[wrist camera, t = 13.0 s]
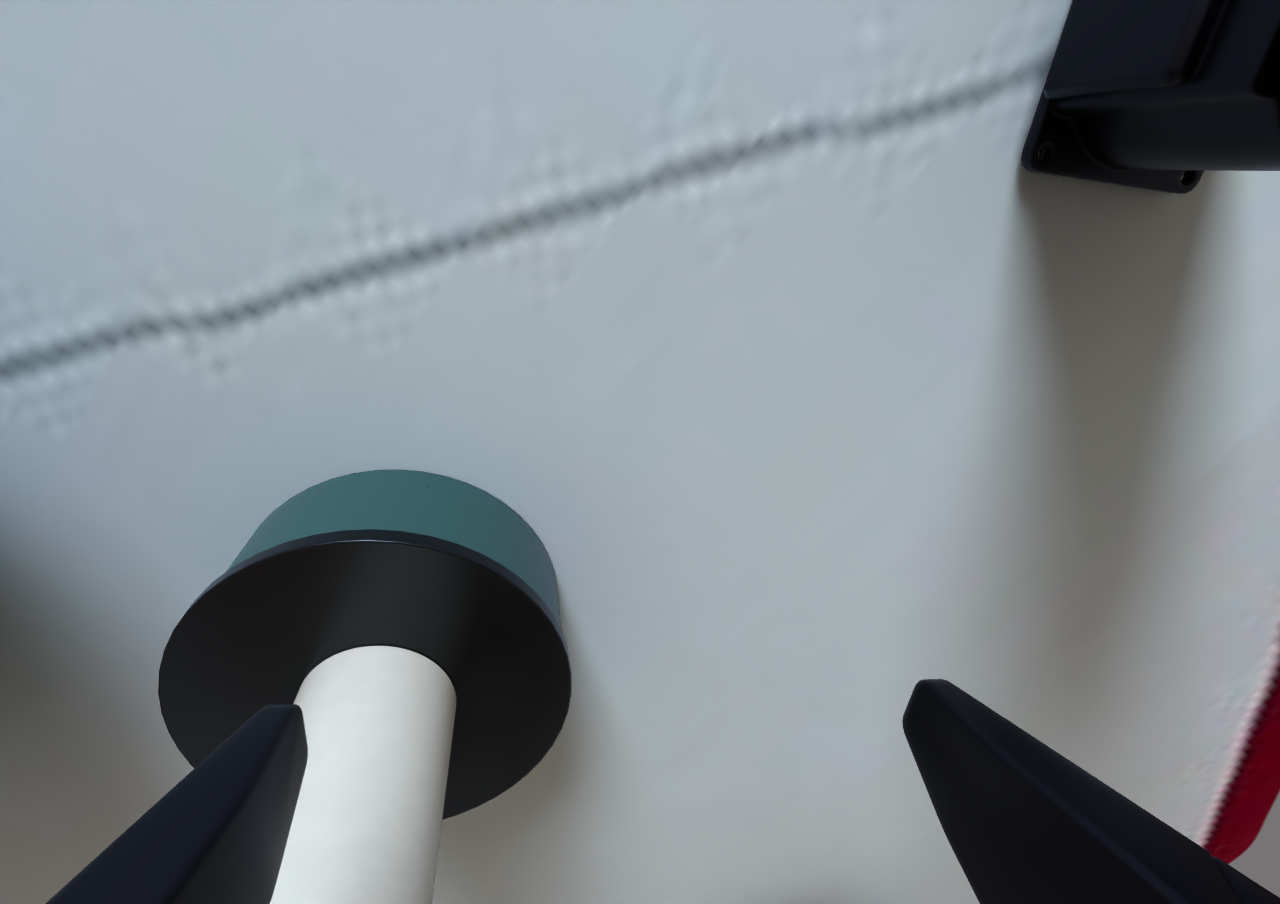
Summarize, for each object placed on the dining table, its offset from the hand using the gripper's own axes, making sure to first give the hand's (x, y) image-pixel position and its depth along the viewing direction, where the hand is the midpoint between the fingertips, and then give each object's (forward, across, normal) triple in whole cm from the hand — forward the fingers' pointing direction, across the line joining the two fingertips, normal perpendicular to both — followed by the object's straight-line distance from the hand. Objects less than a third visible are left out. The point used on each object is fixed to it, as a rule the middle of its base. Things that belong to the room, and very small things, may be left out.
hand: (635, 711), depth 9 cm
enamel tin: (+12, +6, +8) cm, 16 cm away
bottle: (+8, +6, +8) cm, 13 cm away
